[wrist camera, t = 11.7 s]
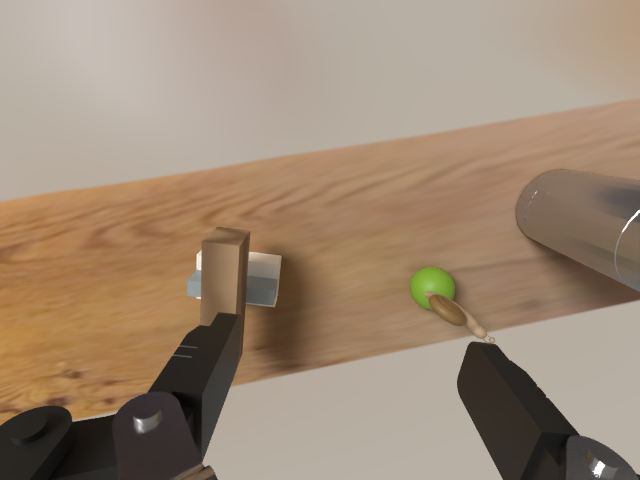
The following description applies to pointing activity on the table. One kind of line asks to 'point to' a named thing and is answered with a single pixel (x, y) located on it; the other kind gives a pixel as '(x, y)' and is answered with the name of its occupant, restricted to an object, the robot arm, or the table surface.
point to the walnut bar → (224, 275)
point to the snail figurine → (442, 299)
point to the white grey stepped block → (249, 279)
